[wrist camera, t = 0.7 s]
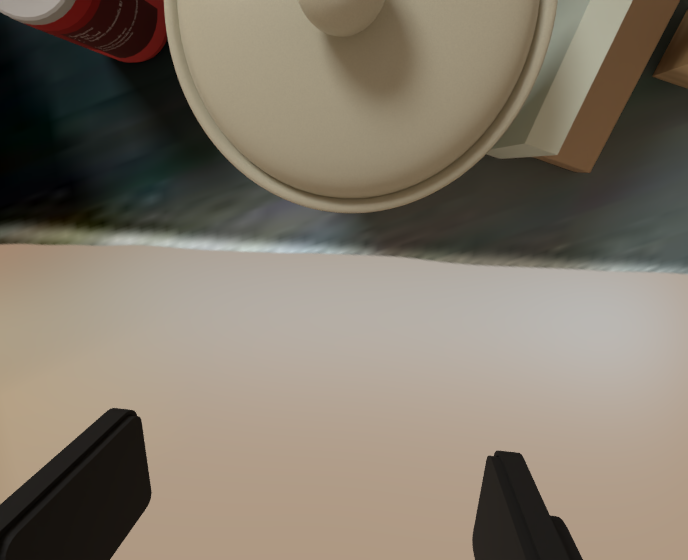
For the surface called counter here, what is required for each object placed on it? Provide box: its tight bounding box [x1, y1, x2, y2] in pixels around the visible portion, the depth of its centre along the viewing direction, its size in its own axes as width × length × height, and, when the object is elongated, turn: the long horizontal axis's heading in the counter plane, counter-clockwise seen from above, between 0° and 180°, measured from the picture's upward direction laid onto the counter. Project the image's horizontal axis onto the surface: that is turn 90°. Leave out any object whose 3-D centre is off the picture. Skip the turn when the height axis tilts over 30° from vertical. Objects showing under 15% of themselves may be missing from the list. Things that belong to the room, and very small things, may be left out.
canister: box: [164, 0, 558, 213], centre depth 23 cm, size 18×18×21 cm
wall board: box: [487, 0, 680, 173], centre depth 25 cm, size 20×8×12 cm, turn 162°
